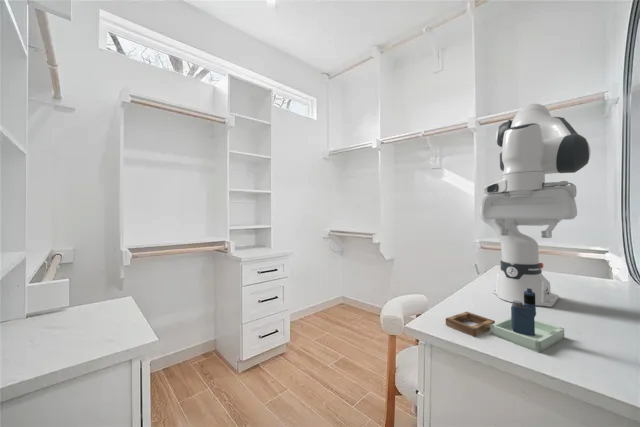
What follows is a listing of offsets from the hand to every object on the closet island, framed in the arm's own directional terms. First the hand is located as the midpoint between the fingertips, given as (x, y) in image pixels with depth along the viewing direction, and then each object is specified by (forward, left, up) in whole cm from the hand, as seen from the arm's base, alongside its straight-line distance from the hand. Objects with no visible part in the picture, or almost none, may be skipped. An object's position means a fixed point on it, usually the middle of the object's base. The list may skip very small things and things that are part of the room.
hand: (524, 236), depth 68 cm
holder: (+7, -11, -27) cm, 30 cm away
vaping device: (0, -1, -26) cm, 26 cm away
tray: (0, 0, -27) cm, 27 cm away
